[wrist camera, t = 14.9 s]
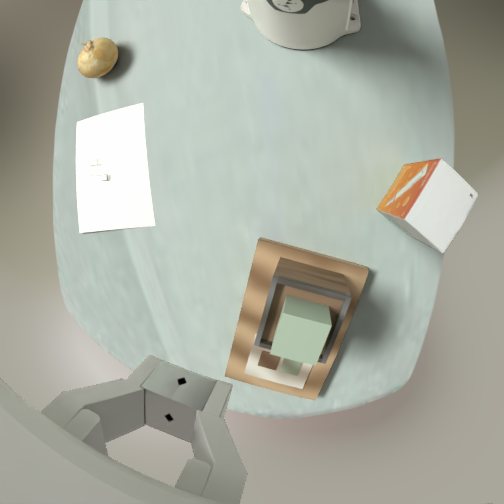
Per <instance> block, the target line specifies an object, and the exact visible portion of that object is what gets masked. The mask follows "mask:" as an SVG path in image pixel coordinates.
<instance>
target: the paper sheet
mask: <svg viewBox="0 0 504 504" xmlns="http://www.w3.org/2000/svg"><path fill="white" fill-rule="evenodd" d="M76 188H77V207H78V220H79V231H80V233H85V232H95V231H105V230H115V229H125V228H136V227H147V226H155V220H154V213H153V206H152V198H151V190H150V182H149V173H148V163H147V153H146V141H145V128H144V111H143V103H140V104H136V105H132V106H128V107H125V108H121V109H117V110H114V111H110V112H107V113H103V114H100V115H97V116H94V117H91V118H88V119H84V120H82V121H79V122H77V134H76Z"/></svg>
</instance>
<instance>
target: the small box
mask: <svg viewBox="0 0 504 504" xmlns="http://www.w3.org/2000/svg"><path fill="white" fill-rule="evenodd" d="M477 197H478V193H477V192H476V191H475V190H474V189H473V188H472V187H471V186H470V185H469V184H468V183H467V182H466V181H465V180H464V179H463V178H462V177H461V176H460V175H459V174H458V173H457V172H456V171H454V170H453V169H452V168H451V167H450V166H449V165H448V164H447V163H446V162H445V161H444V160H443V159H441V158H440V159H435V160H428V161H422V162H417V163H411V164H406V165H403V167H402V169H401V171H400V173H399V175H398V176H397V178H396V180H395V181H394V183H393V184H392V186H391V188H390V189H389V191H388V192H387V194H386V195H385V197H384V198H383V200H382V201H381V203H380V204H379V206H378V207H377V210H378V211H379V212H380V213H382V214H383V215H384V216H385V217H387V218H388V219H389V220H391V221H392V222H393V223H394V224H396V225H397V226H398V227H399V228H401V229H402V230H403V231H404V232H405V233H407V234H408V235H410V236H412V237H414V238H415V239H417V240H419V241H421V242H423V243H425V244H427V245H428V246H430V247H432V248H434V249H436V250H437V251H439V252H441V253H442V254H443V253H444V252H445V251H446V250H447V248H448V247H449V245H450V243H451V242H452V241H453V239H454V237H455V236H456V234H457V233H458V231H459V230H460V228H461V227H462V225H463V224H464V222H465V220H466V218H467V216H468V214H469V212H470V210H471V208H472V206H473V204H474V202H475V201H476V199H477Z"/></svg>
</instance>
